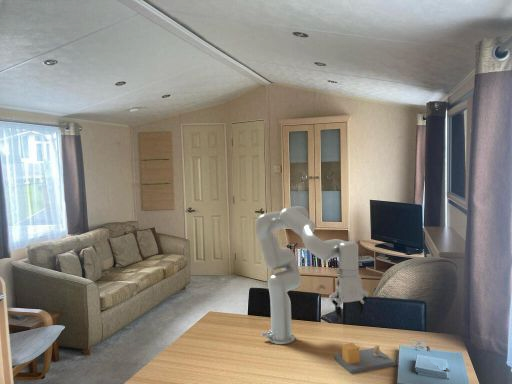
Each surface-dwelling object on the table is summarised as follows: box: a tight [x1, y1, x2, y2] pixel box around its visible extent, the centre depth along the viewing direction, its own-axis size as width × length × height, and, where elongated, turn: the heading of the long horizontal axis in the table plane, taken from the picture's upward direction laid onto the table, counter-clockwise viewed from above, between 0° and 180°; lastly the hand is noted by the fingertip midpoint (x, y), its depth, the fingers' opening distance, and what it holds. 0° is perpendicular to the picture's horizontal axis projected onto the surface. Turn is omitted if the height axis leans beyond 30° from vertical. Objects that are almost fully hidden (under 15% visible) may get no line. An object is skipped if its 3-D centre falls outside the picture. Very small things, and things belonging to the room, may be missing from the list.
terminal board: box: [333, 344, 397, 374], centre depth 167 cm, size 20×14×6 cm
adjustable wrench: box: [411, 340, 428, 350], centre depth 170 cm, size 25×6×2 cm, turn 178°
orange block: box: [341, 342, 360, 364], centre depth 165 cm, size 5×5×6 cm
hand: (349, 314), depth 165 cm, fingers open, 9 cm apart
